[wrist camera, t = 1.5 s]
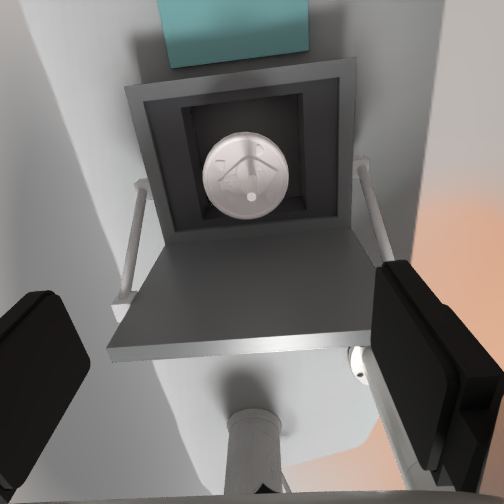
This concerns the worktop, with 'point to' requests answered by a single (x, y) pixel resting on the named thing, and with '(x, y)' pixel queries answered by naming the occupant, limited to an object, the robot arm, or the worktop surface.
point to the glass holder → (254, 454)
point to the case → (249, 229)
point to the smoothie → (245, 175)
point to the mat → (232, 29)
